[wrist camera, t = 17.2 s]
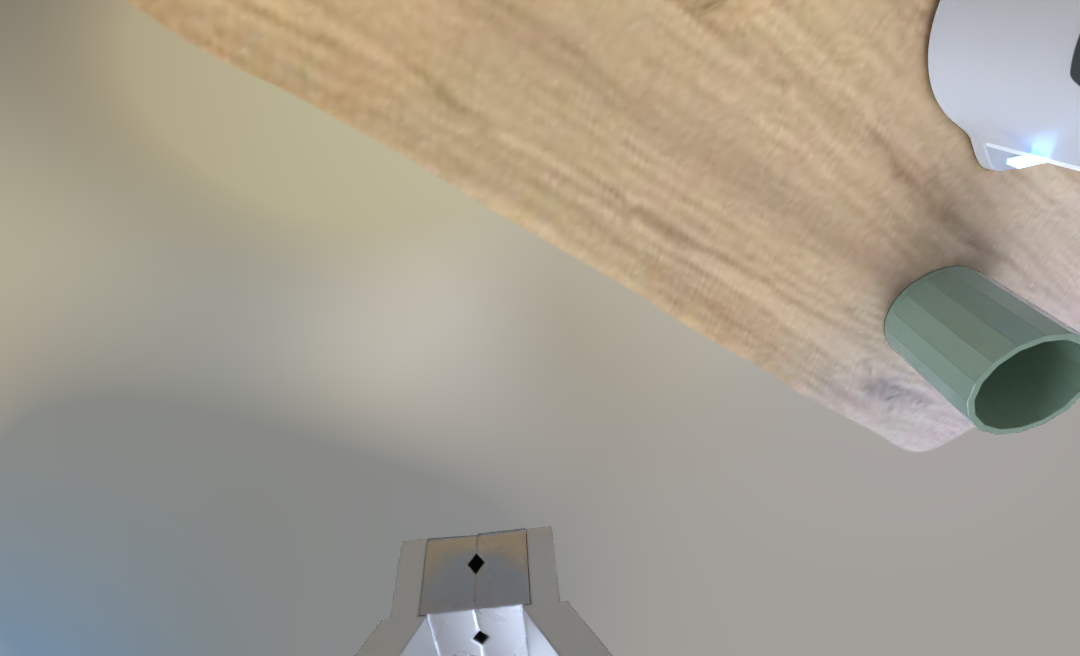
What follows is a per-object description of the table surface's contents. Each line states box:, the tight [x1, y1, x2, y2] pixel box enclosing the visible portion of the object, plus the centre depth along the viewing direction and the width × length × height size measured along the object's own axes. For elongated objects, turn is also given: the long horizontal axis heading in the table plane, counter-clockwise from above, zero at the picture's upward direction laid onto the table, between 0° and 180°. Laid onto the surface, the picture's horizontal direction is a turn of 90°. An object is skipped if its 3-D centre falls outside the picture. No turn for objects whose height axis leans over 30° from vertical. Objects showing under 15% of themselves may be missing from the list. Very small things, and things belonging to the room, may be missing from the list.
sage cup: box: [884, 266, 1080, 434], centre depth 41 cm, size 8×8×10 cm
